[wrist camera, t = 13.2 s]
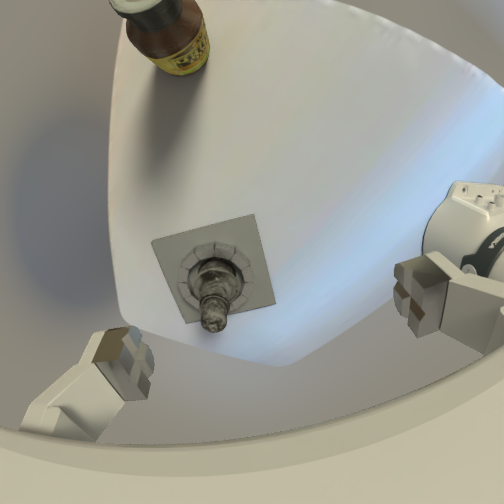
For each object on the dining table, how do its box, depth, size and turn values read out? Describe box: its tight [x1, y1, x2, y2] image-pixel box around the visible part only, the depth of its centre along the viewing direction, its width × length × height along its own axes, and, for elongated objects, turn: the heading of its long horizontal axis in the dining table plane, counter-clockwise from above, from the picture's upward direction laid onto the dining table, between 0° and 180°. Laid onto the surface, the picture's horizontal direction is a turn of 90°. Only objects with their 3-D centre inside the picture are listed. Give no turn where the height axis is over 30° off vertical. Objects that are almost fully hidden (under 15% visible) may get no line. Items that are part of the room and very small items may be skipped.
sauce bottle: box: [109, 0, 210, 76], centre depth 19 cm, size 6×6×20 cm
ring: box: [177, 241, 254, 311], centre depth 40 cm, size 10×10×2 cm
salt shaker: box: [193, 257, 239, 333], centre depth 35 cm, size 6×6×12 cm
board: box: [151, 214, 276, 323], centre depth 41 cm, size 14×14×1 cm
